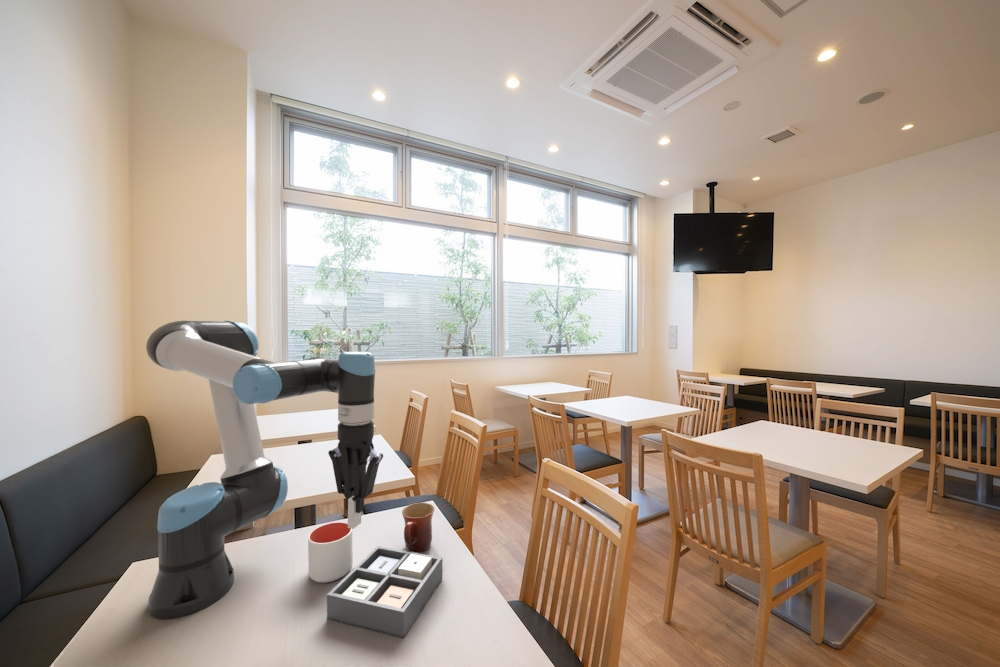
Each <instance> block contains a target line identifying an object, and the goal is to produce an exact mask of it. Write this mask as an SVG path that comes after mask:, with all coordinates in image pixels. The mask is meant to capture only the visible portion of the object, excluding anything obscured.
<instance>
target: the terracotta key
mask: <svg viewBox="0 0 1000 667" xmlns="http://www.w3.org/2000/svg"><path fill="white" fill-rule="evenodd" d="M413 593H414V590H411V589H406V588H402V587H397V586H392V585H391V586H390V587H389V588H388V590H387V591H386V592H385V593H384V594H383V596H382V597H381V598H380V599H379V600H378V602H377V603H380V604H385V605H389V606H394V607H398V608H403V607H404V605H405V604H406V602H407V601H408V600H409V598H410V597H411V596H412V594H413Z"/></svg>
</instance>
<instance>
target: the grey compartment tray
mask: <svg viewBox="0 0 1000 667" xmlns="http://www.w3.org/2000/svg"><path fill="white" fill-rule="evenodd" d="M410 554H414V555H419V556H425V557H430V558H432V568H431V569H430V571H429V572H428V573H427V575H426V576H425V578H424V579H423V580H419V579H414V578H409V577H404V576H399V575H398V568H399V567H400V566H401V565H402V563H403V562H404V561H405V560H406V559H407V558H408V556H409V555H410ZM379 556H383V557H388V558H393V559H399V560H400V561H399V562H398V563H397V564H396V565H395V566H394V567H393V569H392V570H391V571H390V572H389V573H384V572H379V571H374V570H369V569H367V568H368V567H369V566H370V565H371V564H372V563H373V562H374V561H375V560H376V559H377V558H378V557H379ZM358 578H359V579H363V580H368V581H373V582H378V583H379V584H378V586H377V587H376V588H375V589H374V590H373V591H372V592H371V593H370V595H369V596H368V597H367V598H366V599H365V600H363V599H358V598H354V597H349V596H345V595H342V594H343V593H344V592H345V591H346V590H347V589H348V588H349V587H350V586H351V585H352V584H353V583H354V582H355V581H356V580H357V579H358ZM442 580H443V557H441V556H435V555H432V554H431V555H430V554H424V553H420V552H411V551H409V550H408V551H407V550H402V549H398V548H397V549H395V548H390V547H384V546H380V545H379V546H378V545H376V547H375V548H374V549H373V550H372V551H370V552H369V553H368V555H366V557H365V558H363V559H362V560H361V561H360V562H359V563H358V564H357V565H356V566H355V567H354V568H353V569H352V570H350V572H348V573H347V574H346V575H345V577H343V578H342V580H340V582H339V583H337V584H336V585H335V586H334V587H333V588H332V589H331V590H330V591H329V592H328V593H327V594H326V620H330V621H333V622H335V623H336V622H337V623H340V624H344V625H348V626H349V625H350V626H353V627H356V628H361V629H365V630H370V631H372V632H377V633H381V634H385V635H389V636H393V637H396V638H400V639H405V637H406V636H407V635H408V633H409V632H410V630H411V628H412V626H413V625H414V623H415V622H416V620H417V619H418V618H419V616H420V614H421V613H422V611H423V610H424V608H425V606H426V605H427V603H428V602H429V600H430V599H431V597H432V595H433V594H434V592H436V589H437V588H438V586H439V585H440V583H441V582H442ZM391 585H392V586H397V587H402V588H406V589H411V590H414V593H413V594H412V596H411V597H410V598H409V600H408V601H407V602H406V604H405V605H404V607H403V608H398V607H394V606H389V605H385V604H380V603H377V602H378V600H379V599H380V598H381V597H382V596H383V594H384V593H385V592H386V591H387V590H388V588H389V587H390V586H391Z"/></svg>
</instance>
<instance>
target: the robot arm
mask: <svg viewBox="0 0 1000 667" xmlns="http://www.w3.org/2000/svg"><path fill="white" fill-rule="evenodd" d="M145 348H146V349H145V350H146V354H147V356H148V357H149V358H150V359H151V361H152V362H153V363H154V364H156V365H158V366H159V367H162V368H164V369H167V370H169V371H174V372H177V371H178V372H181V371H186V372H188V373H191V374H194V375H196V376H199V377H201V378H204V379H208V383H209V389H210V393H211V399H212V403H213V408H214V409H213V410H214V413H215V418H216V424H217V428H218V434H219V440H220V446H221V450H222V455H223V460H224V464H225V468H224V469H225V470H223V471H224V472H222V474H221V475H220V482H215V481H214V482H213V481H211V482H205V483H202V484H200V485H199V484H196V485H192V486H190V487H187V488H185V489H182V490H180V491H178V492H176V493H174V494H172V495H171V496H170V497H168V498H167V499H166V500H164V502H163V503H162V504H161V505H160V507H159V510H158V514H157V523H156V528H157V544H158V545H157V546H158V547H157V548H158V572H157V575H156V578H155V581H154V583H153V585H152V586H153V587H152V589H151V593H150V594H149V597H148V600H147V602H148V608H147V609H148V613H149V615H150V616H151V617H153V618H156V619H161V620H162V619H164V620H165V619H173V618H179V617H184V616H186V615H190V614H193V613H195V612H197V611H200V610H202V609H205V608H206V607H208V606H210V605H212V604H214V603H215V602H217V601H218V600H220V599H221V598H223V597H224V596H225V595H226V594H227V593H228V592H229V591H230V590H231V589H232V587H233V585H234V583H235V571H234V567H233V565H232V563H231V560H230V559H229V557H228V555H227V553H226V550H225V537H226V536H228V535H231V534H232V533H234V532H236V531H238V530H240V529H242V528H244V527H246V526H248V525H251V524H252V523H255V522H257V521H258V520H261V519H266V517H268V516H270V515H271V514H273V513H275V512H276V511H278V510H279V509H280V508H281V507H282V506H283V505H284V502H285V501H286V499H287V496H288V493H289V492H288V490H289V488H288V487H289V483H288V479H287V478H288V477H287V476H286V473H285V472H283V470H282V468H280V467H278V466H275V465H274V464H273V460H271V459H269V458H268V457H266V456H265V452H264V448H263V443H262V437H261V434H260V432H261V431H260V428H259V423H258V419H257V415H256V414H257V413H256V407H255V404H266V403H269V402H274V401H278V400H284V399H287V398H294V397H298V396H305V395H309V394H314V393H321V392H330V393H336V394H338V396H337V397H338V398H337V404H338V406H337V421H338V424H337V440H338V443H337V446H336V447H335V448H333V449H329V451H328V453H327V454H328V456H329V458H330V460H331V464H332V467H333V468H332V469H333V474H334V480H335V484H336V490H337V493H338V494H339V495H340V494H342V495H344V498H345V511H346V512H347V523H348V528H351V529H352V530H354V529H355V528H357V527H358V526H359V525H360V524H362V512H363V511H364V509H365V498H367V497H369V495H371V494H372V493H373V491H374V487H375V484H376V479H377V475H378V471H379V465H380V463H381V461H382V460H383V458H384V453H382V452H380V453H378V452H377V451H376V450H375V447H374V443H373V438H374V435H375V434H374V433H375V432H374V430H375V429H374V428H375V427H374V426H375V425H374V424H375V422H374V421H373V420H374V418H375V379H376V367H375V366H376V365H375V363H376V362H375V355H374V354H373V353H372V352H369V351H343V352H340V353H339V355H338V359H334V358H325V357H319V356H317V357H307V358H303V359H302V360H301V359H300V360H292V361H281V362H280V361H279V362H274V361H270V360H268V359H264V358H261V357H258V356H257V355H258V350H259V341H258V337H257V335H256V333H255V332H254V330H253V329H252V328H251V327H250V326H249V325H247V324H246V323H244V322H240V321H230V320H223V321H222V320H221V321H219V320H217V321H216V320H175V321H172V322H168V323H166V324H163V325H161V326H160V327H158V328H156V329H155V330H154V331H153V332H152V333H150V335H149V337H148V339H147V341H146V346H145ZM368 458H369V459H368ZM368 462H369V463H368Z"/></svg>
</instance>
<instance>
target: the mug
mask: <svg viewBox="0 0 1000 667" xmlns="http://www.w3.org/2000/svg"><path fill="white" fill-rule="evenodd" d="M434 511H435V506H433V505H432V503H431V504H430V503H428V502H414V503H412V504H411V503H410V504H408V505H406V506H404V508H403V509H402V512H401V514H402V517H403V520H404V530H403V538H404V544H405V548H406V550H408V552H414V553H421V552H424V551H426V550H428V548H430V547H431V545H432V539H433V526H432V519H433V516H434Z"/></svg>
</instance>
